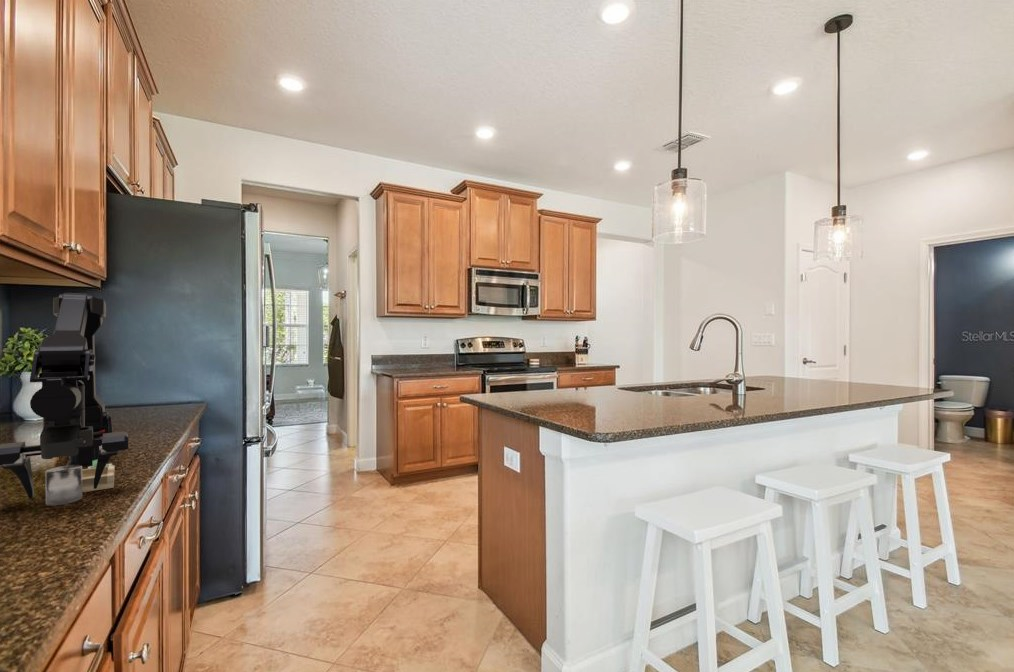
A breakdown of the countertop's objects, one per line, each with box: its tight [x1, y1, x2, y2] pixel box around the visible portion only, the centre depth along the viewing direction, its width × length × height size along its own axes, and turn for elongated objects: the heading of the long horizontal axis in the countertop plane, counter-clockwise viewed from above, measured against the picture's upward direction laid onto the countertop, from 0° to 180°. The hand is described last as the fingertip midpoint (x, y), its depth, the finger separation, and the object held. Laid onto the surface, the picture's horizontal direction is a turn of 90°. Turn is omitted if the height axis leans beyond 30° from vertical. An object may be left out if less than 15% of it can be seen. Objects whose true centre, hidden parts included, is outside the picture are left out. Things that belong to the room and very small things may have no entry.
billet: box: [45, 464, 83, 506], centre depth 87 cm, size 5×5×6 cm
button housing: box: [87, 463, 113, 469], centre depth 102 cm, size 4×4×2 cm
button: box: [92, 459, 108, 468], centre depth 102 cm, size 2×2×3 cm
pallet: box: [82, 464, 115, 493], centre depth 95 cm, size 9×9×2 cm
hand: (64, 493), depth 87 cm, fingers open, 8 cm apart
